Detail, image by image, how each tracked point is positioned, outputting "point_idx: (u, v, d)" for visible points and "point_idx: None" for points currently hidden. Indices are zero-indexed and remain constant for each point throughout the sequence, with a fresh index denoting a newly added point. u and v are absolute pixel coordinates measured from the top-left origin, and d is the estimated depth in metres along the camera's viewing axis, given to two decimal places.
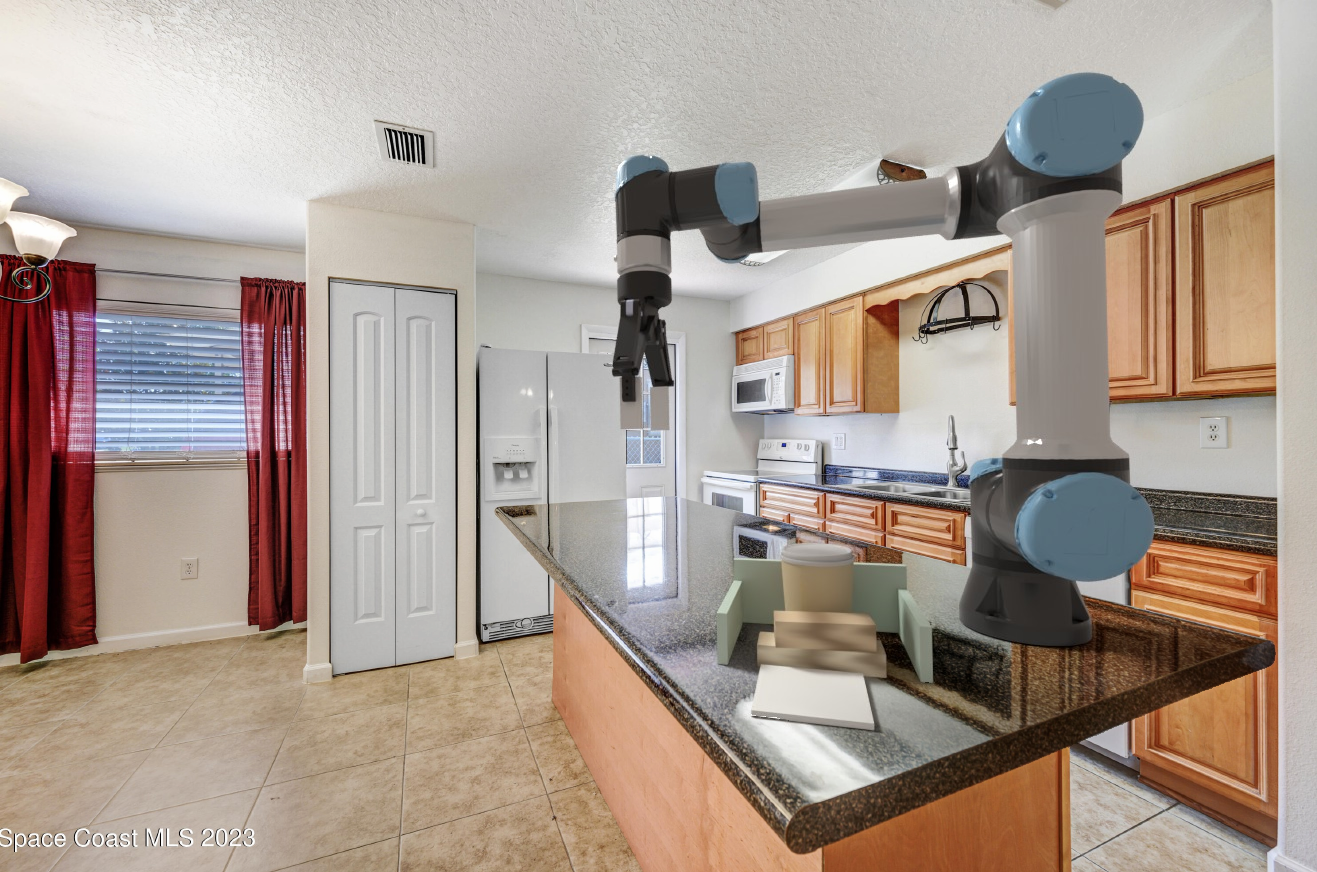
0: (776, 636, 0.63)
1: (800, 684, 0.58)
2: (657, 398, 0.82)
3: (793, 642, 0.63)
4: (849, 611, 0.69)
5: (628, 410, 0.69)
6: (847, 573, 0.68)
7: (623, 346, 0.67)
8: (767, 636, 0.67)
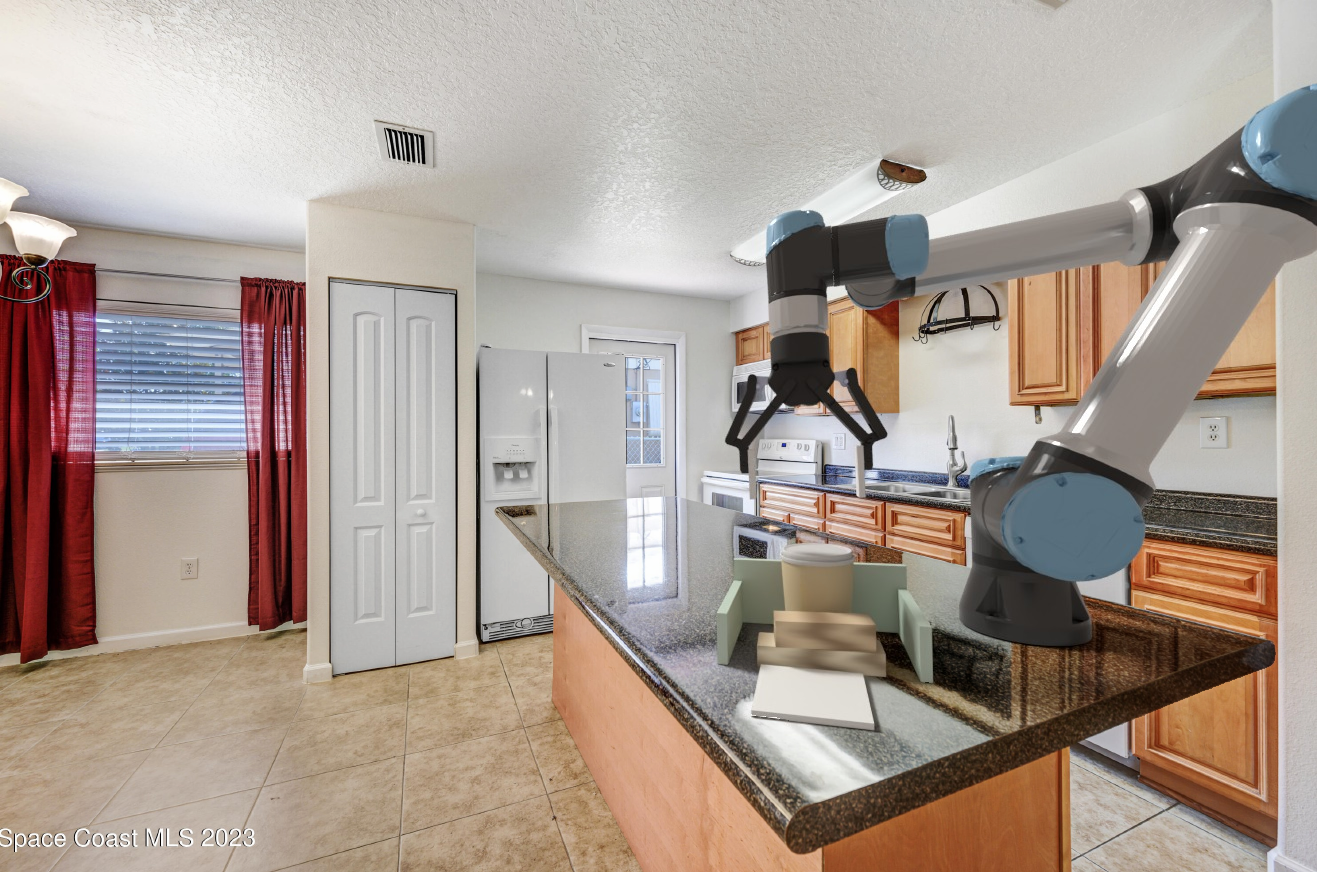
0: (776, 636, 0.63)
1: (800, 684, 0.58)
2: (855, 459, 0.71)
3: (793, 642, 0.63)
4: (849, 611, 0.69)
5: None
6: (848, 573, 0.68)
7: None
8: (766, 636, 0.67)
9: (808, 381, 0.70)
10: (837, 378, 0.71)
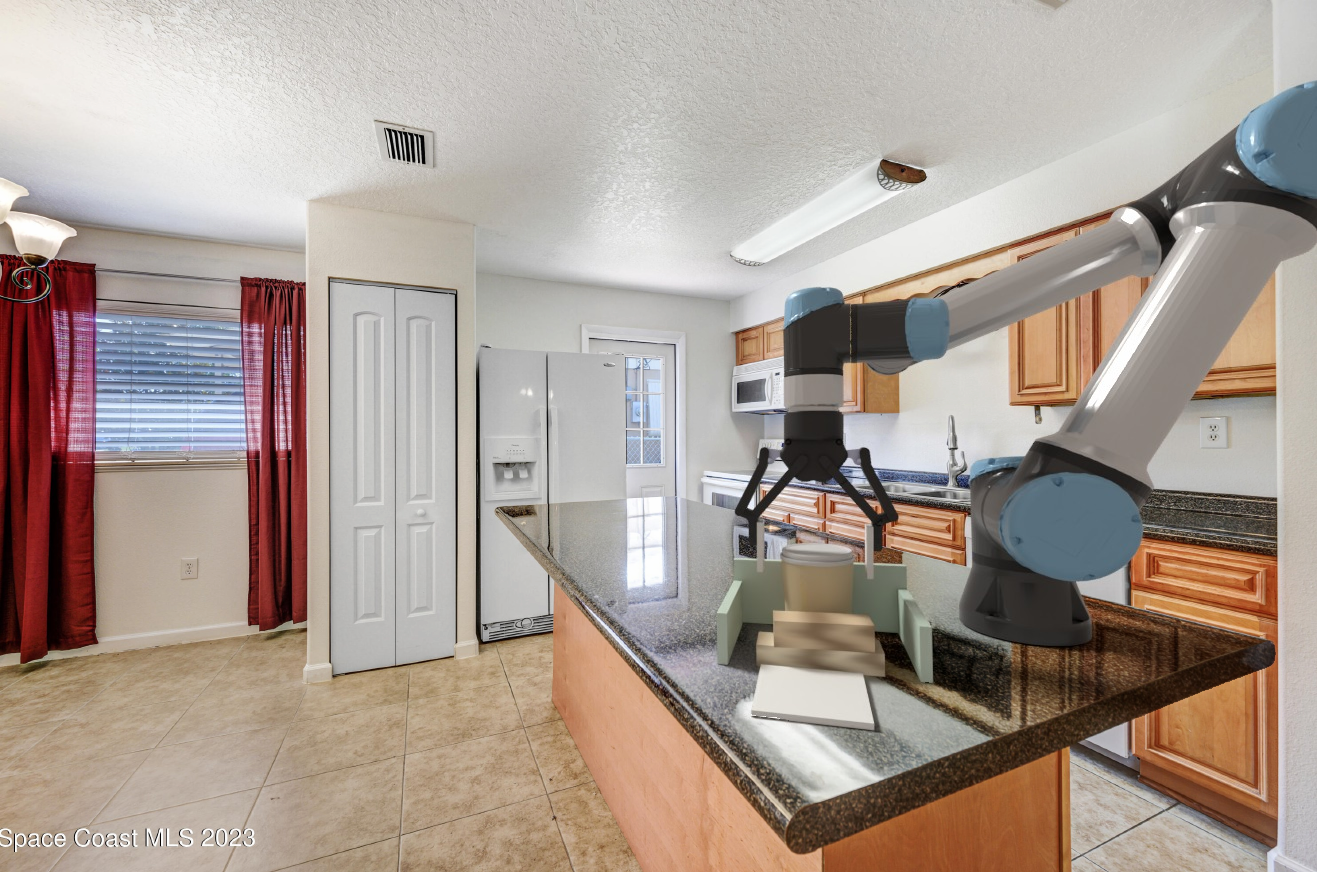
0: (774, 635, 0.63)
1: (800, 684, 0.58)
2: (865, 538, 0.70)
3: (791, 642, 0.63)
4: (849, 611, 0.69)
5: None
6: (847, 573, 0.68)
7: None
8: (766, 636, 0.67)
9: (820, 459, 0.70)
10: (850, 456, 0.70)
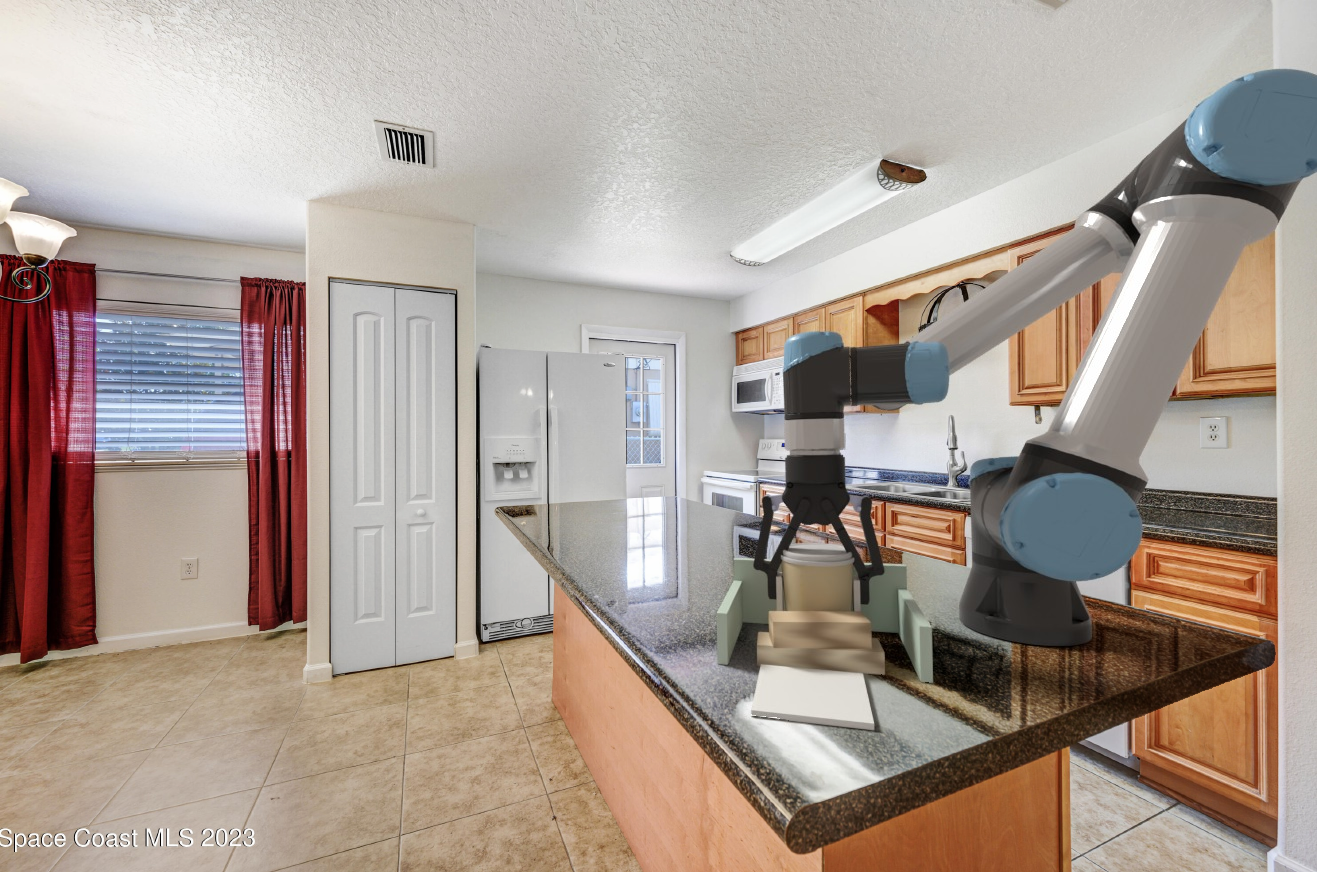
0: (774, 636, 0.63)
1: (800, 684, 0.58)
2: None
3: (791, 642, 0.63)
4: None
5: None
6: (848, 573, 0.68)
7: None
8: (766, 636, 0.67)
9: (823, 502, 0.70)
10: (851, 502, 0.70)
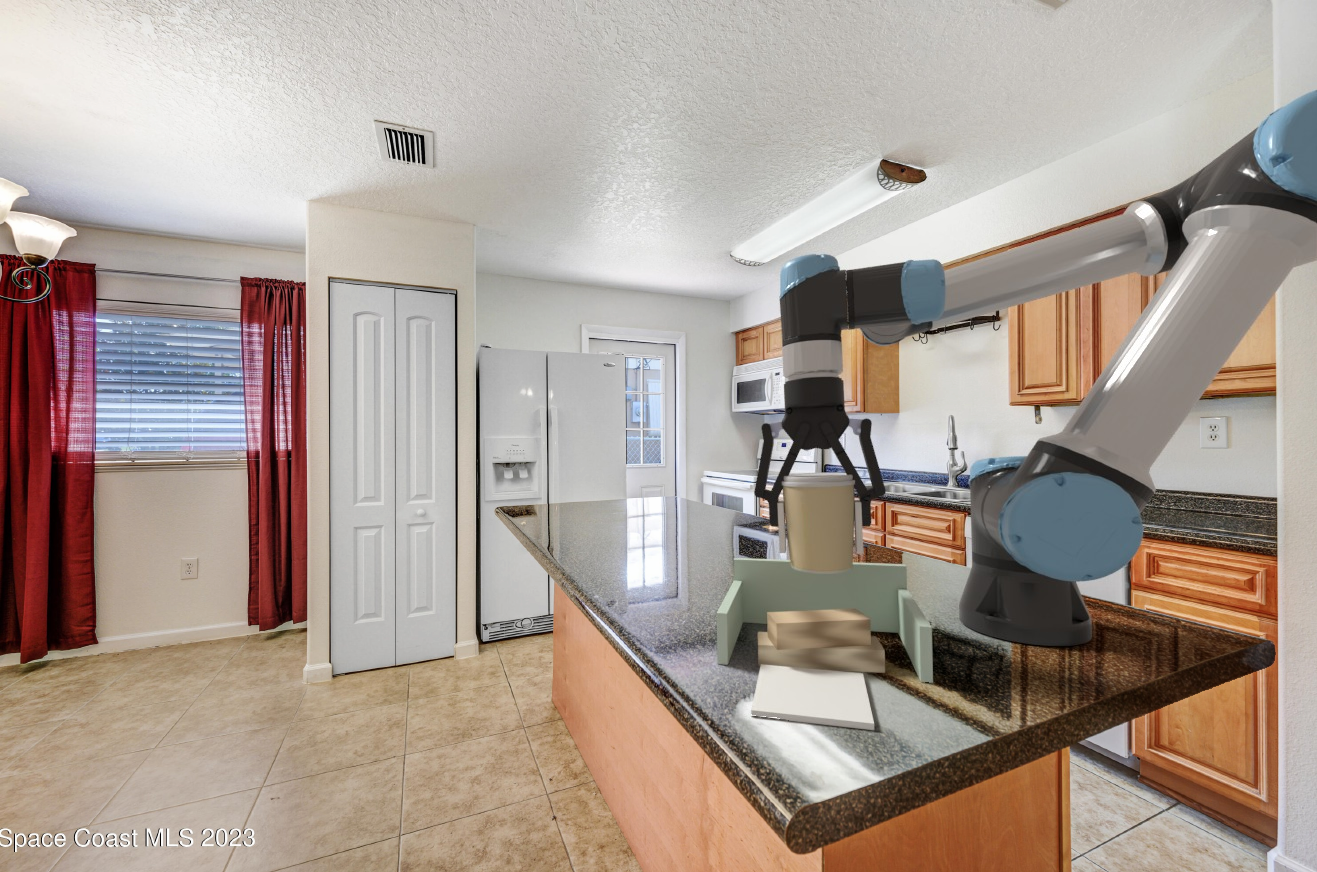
0: (777, 638, 0.63)
1: (800, 684, 0.58)
2: (854, 514, 0.71)
3: (794, 643, 0.63)
4: (851, 533, 0.69)
5: None
6: (849, 494, 0.68)
7: None
8: (766, 636, 0.67)
9: (822, 425, 0.70)
10: (851, 425, 0.70)
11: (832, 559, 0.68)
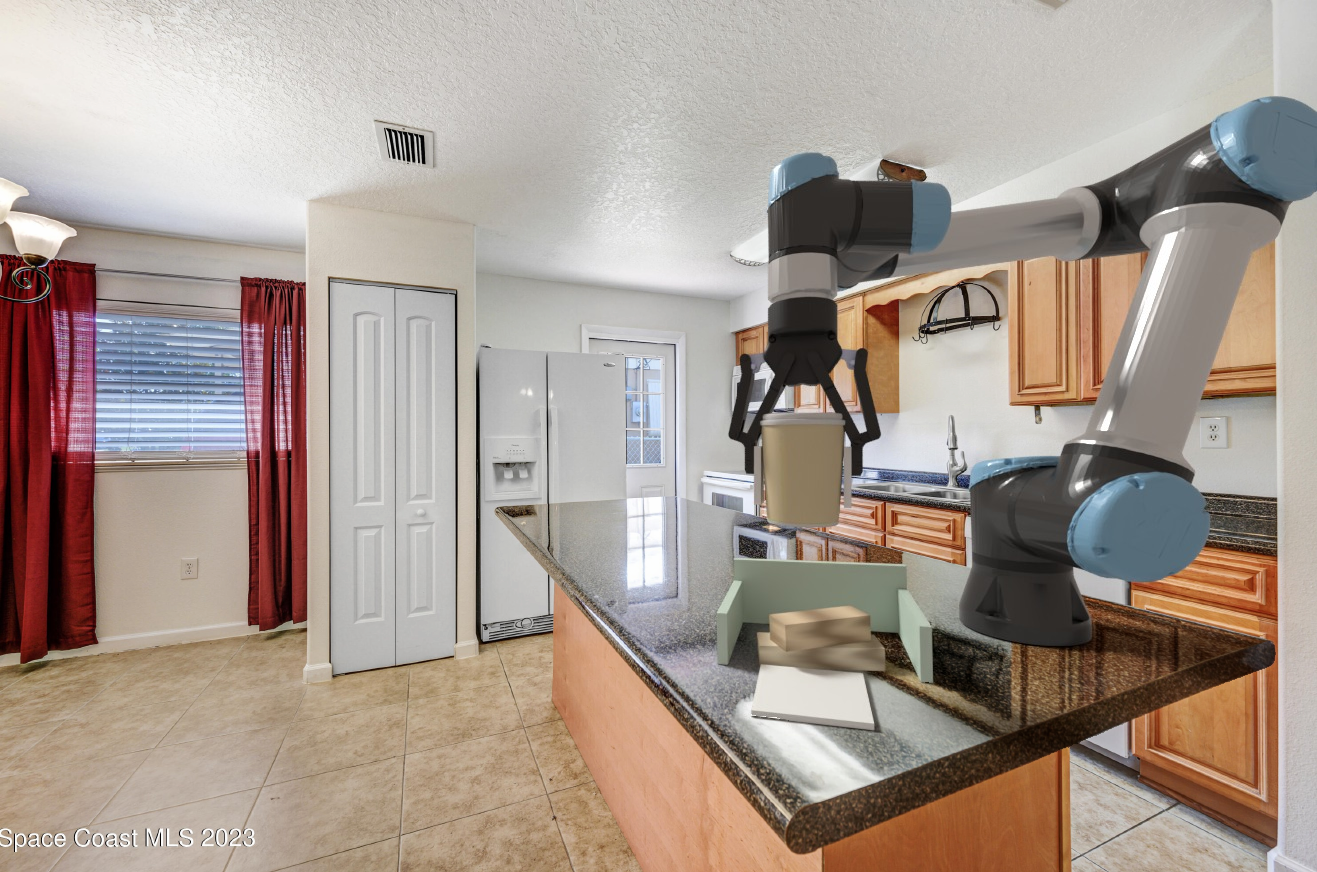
0: (786, 640, 0.62)
1: (800, 684, 0.58)
2: None
3: (801, 643, 0.62)
4: (838, 482, 0.58)
5: None
6: (836, 436, 0.58)
7: None
8: (766, 636, 0.67)
9: (809, 355, 0.59)
10: (844, 357, 0.60)
11: (812, 511, 0.57)
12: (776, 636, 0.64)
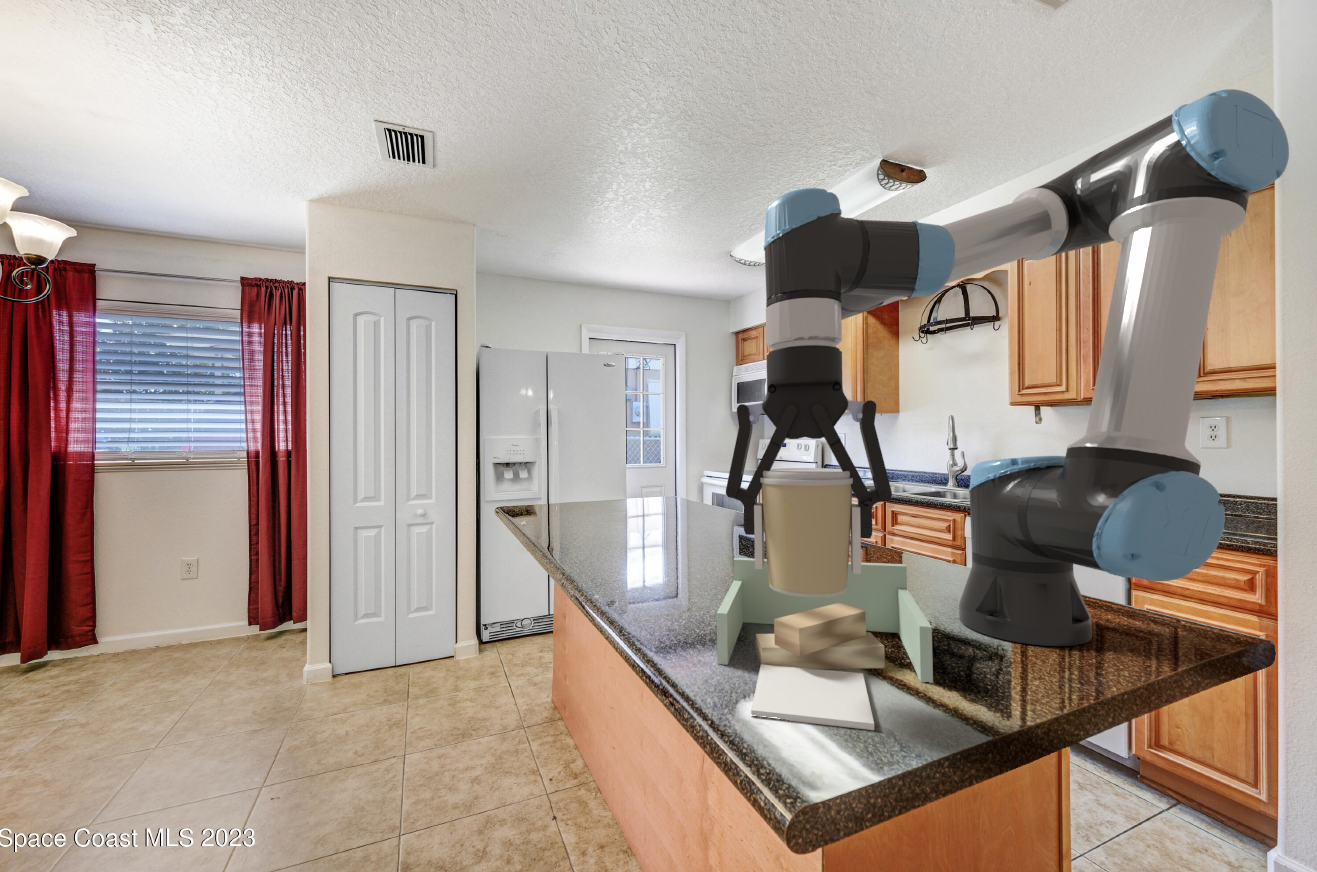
0: (800, 644, 0.61)
1: (800, 684, 0.58)
2: (851, 522, 0.56)
3: (812, 646, 0.62)
4: (846, 546, 0.54)
5: None
6: (844, 496, 0.53)
7: None
8: (765, 637, 0.66)
9: (813, 407, 0.55)
10: (850, 409, 0.55)
11: (820, 579, 0.53)
12: (785, 641, 0.63)
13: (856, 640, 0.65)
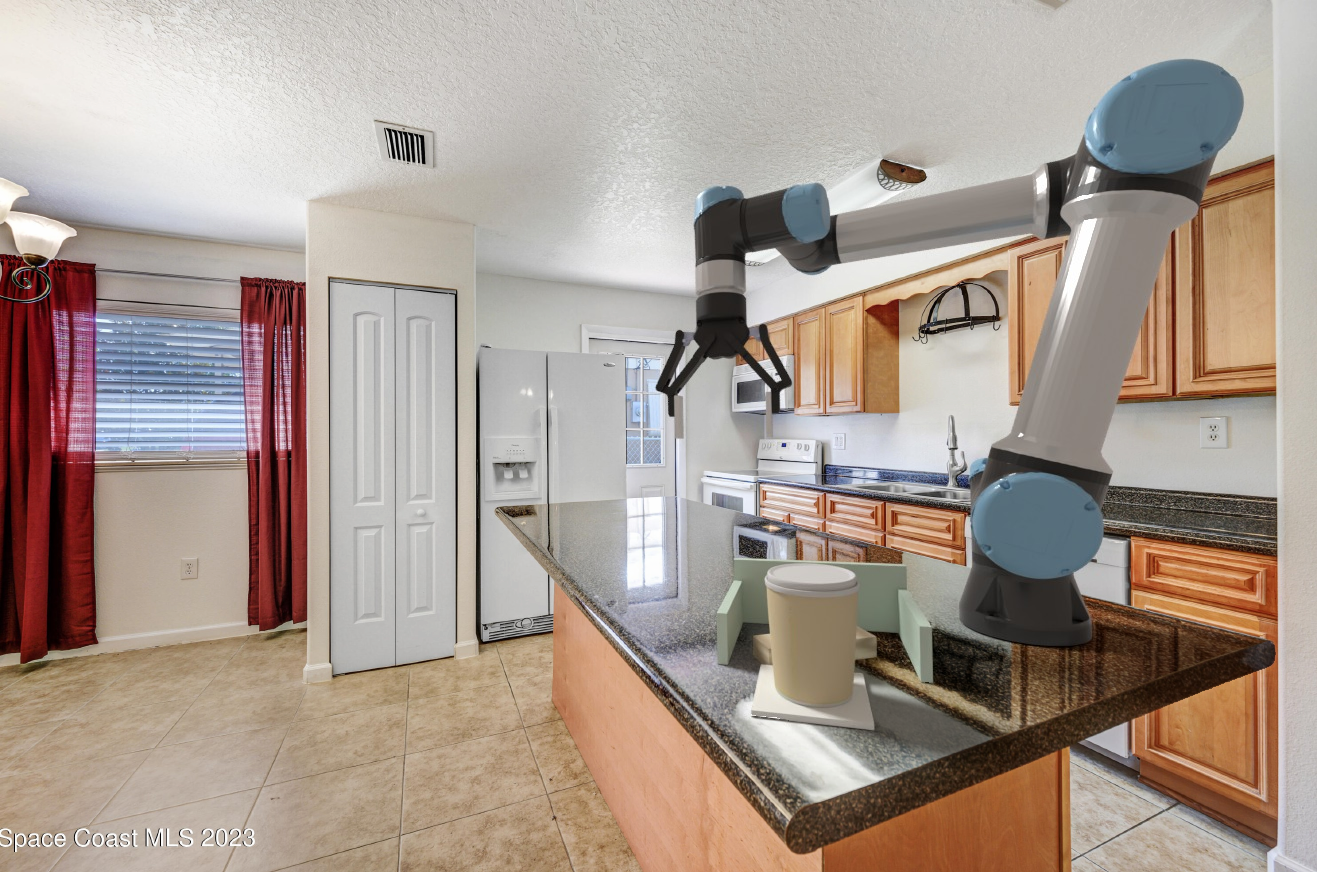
0: None
1: None
2: None
3: None
4: (852, 653, 0.54)
5: None
6: (850, 605, 0.53)
7: None
8: (765, 638, 0.66)
9: (725, 335, 0.80)
10: (751, 334, 0.81)
11: (826, 689, 0.53)
12: None
13: None
